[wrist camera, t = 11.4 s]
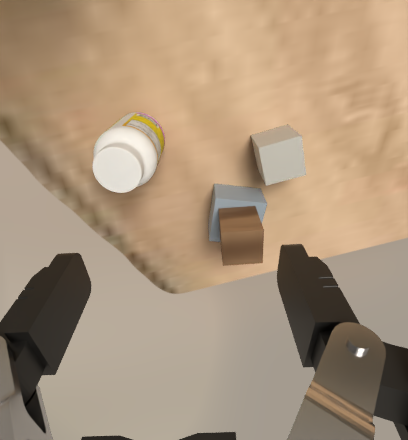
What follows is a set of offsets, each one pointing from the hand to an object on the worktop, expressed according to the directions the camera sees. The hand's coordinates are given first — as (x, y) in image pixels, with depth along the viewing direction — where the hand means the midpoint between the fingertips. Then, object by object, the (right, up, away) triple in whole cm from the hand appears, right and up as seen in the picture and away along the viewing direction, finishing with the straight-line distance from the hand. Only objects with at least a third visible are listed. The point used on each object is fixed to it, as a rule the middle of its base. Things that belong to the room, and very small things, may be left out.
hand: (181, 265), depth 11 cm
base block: (+6, +4, +32) cm, 33 cm away
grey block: (+10, +12, +27) cm, 31 cm away
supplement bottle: (-8, +13, +26) cm, 30 cm away
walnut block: (+6, +1, +28) cm, 28 cm away
